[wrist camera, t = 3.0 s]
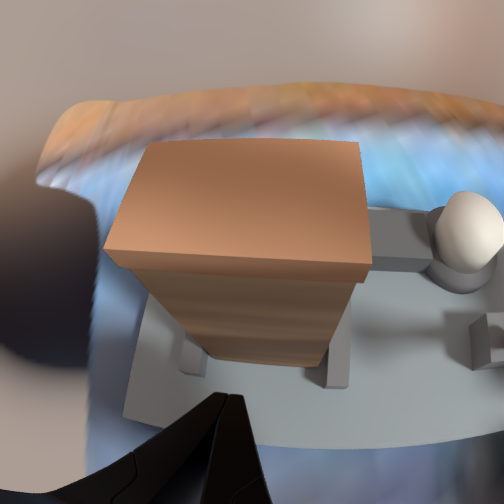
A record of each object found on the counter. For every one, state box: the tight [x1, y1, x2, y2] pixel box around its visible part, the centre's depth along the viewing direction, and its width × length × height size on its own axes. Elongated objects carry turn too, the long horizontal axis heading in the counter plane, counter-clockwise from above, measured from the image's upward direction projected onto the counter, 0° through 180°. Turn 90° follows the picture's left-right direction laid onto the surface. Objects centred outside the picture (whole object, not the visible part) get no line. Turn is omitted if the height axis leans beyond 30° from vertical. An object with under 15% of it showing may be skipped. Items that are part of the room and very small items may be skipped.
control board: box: [122, 191, 504, 449], centre depth 15 cm, size 14×26×4 cm, turn 83°
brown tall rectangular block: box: [103, 138, 372, 368], centre depth 11 cm, size 3×5×11 cm, turn 83°
